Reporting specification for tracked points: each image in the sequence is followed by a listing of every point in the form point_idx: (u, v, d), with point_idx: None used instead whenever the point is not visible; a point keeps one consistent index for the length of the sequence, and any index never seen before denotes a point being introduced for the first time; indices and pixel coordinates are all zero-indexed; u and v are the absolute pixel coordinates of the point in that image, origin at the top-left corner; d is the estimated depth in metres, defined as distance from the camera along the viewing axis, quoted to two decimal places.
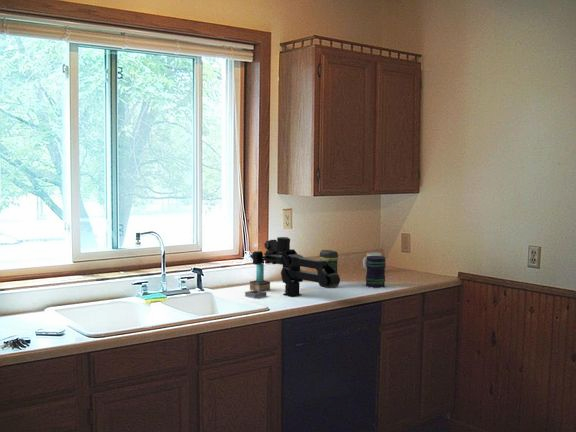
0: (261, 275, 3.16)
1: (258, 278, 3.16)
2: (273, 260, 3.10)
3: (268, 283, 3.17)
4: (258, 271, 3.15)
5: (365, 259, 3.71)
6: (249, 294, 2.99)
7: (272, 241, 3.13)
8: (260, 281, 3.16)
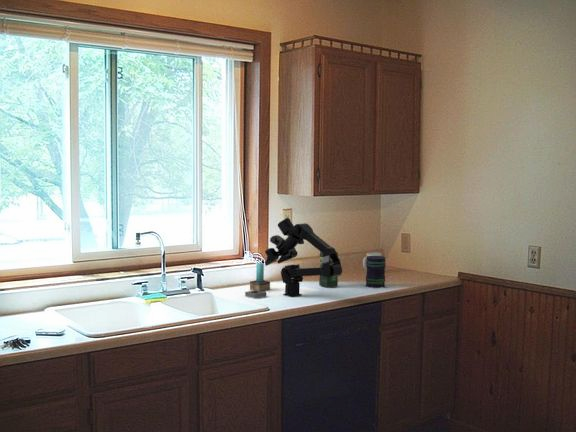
0: (261, 275, 3.16)
1: (258, 278, 3.16)
2: (286, 246, 3.02)
3: (268, 283, 3.17)
4: (258, 271, 3.15)
5: (365, 259, 3.71)
6: (249, 294, 2.99)
7: (275, 236, 3.09)
8: (260, 281, 3.16)
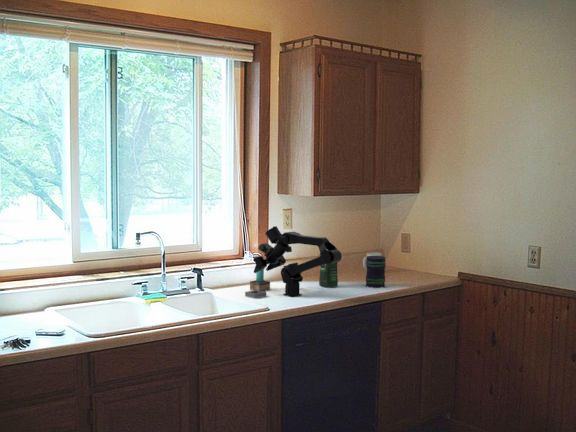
0: (261, 275, 3.16)
1: (258, 278, 3.16)
2: (274, 254, 3.07)
3: (268, 283, 3.17)
4: None
5: (365, 259, 3.71)
6: (249, 294, 2.99)
7: (264, 244, 3.14)
8: (260, 281, 3.16)
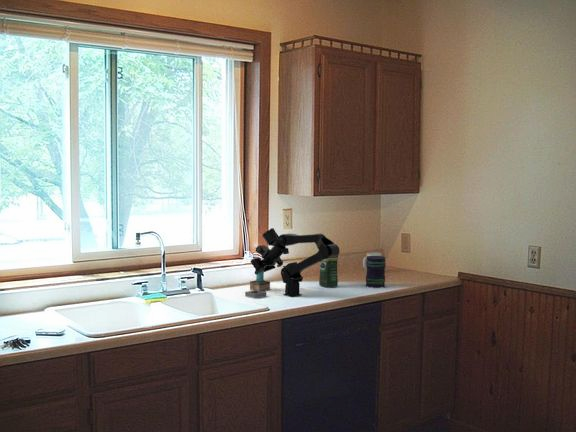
0: (261, 275, 3.16)
1: (258, 278, 3.16)
2: (272, 256, 3.08)
3: (268, 283, 3.17)
4: None
5: (365, 259, 3.71)
6: (249, 294, 2.99)
7: (261, 246, 3.15)
8: (260, 281, 3.16)
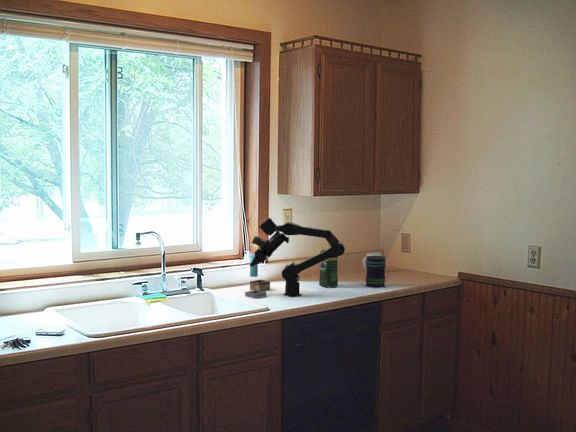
0: (256, 267, 3.06)
1: (254, 270, 3.05)
2: (273, 246, 3.02)
3: (268, 283, 3.17)
4: None
5: (365, 259, 3.71)
6: (249, 294, 2.99)
7: (256, 237, 3.05)
8: (256, 273, 3.06)
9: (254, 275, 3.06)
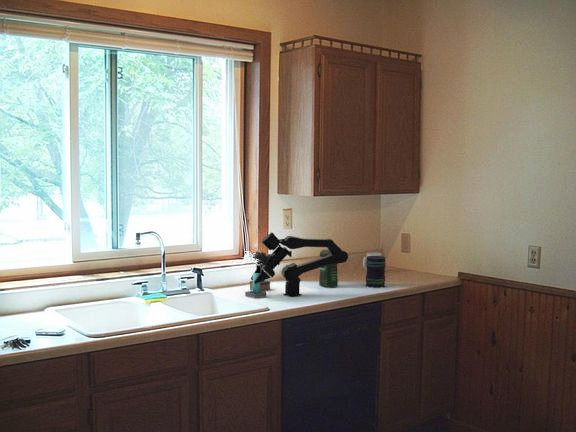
0: (259, 286, 3.01)
1: (257, 289, 3.00)
2: (277, 260, 3.00)
3: (268, 283, 3.17)
4: None
5: (365, 259, 3.71)
6: (249, 294, 2.99)
7: (258, 252, 3.00)
8: (259, 292, 3.01)
9: None
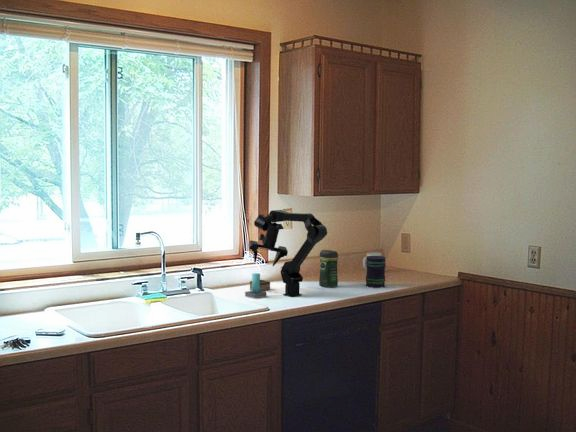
0: (259, 286, 3.01)
1: (257, 289, 3.00)
2: (266, 236, 3.10)
3: (268, 283, 3.17)
4: (257, 282, 3.00)
5: (365, 259, 3.71)
6: (249, 294, 2.99)
7: None
8: (259, 292, 3.01)
9: None
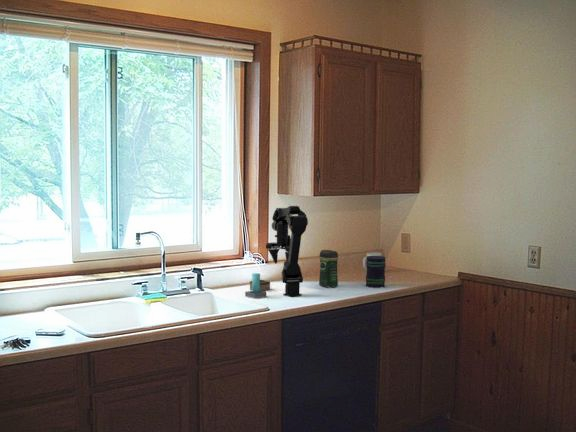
0: (259, 286, 3.01)
1: (257, 289, 3.00)
2: None
3: (268, 283, 3.17)
4: (257, 282, 3.00)
5: (365, 259, 3.71)
6: (249, 294, 2.99)
7: None
8: (259, 292, 3.01)
9: None
